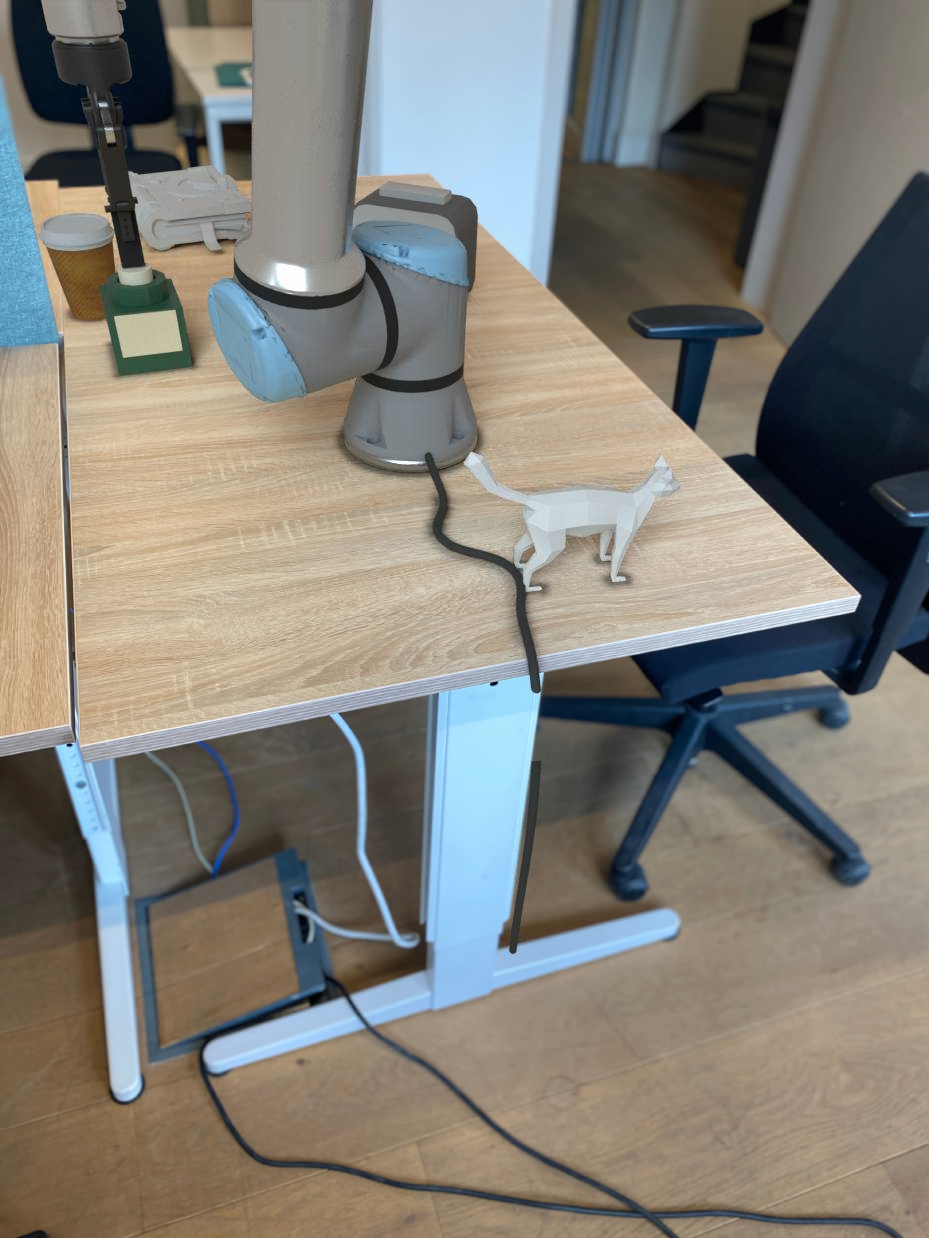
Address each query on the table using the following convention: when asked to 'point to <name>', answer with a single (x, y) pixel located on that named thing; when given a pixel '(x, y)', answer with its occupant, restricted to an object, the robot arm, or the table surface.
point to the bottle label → (148, 333)
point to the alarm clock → (424, 213)
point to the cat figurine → (578, 514)
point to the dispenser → (144, 301)
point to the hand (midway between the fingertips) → (133, 264)
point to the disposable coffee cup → (81, 259)
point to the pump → (135, 275)
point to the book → (189, 207)
